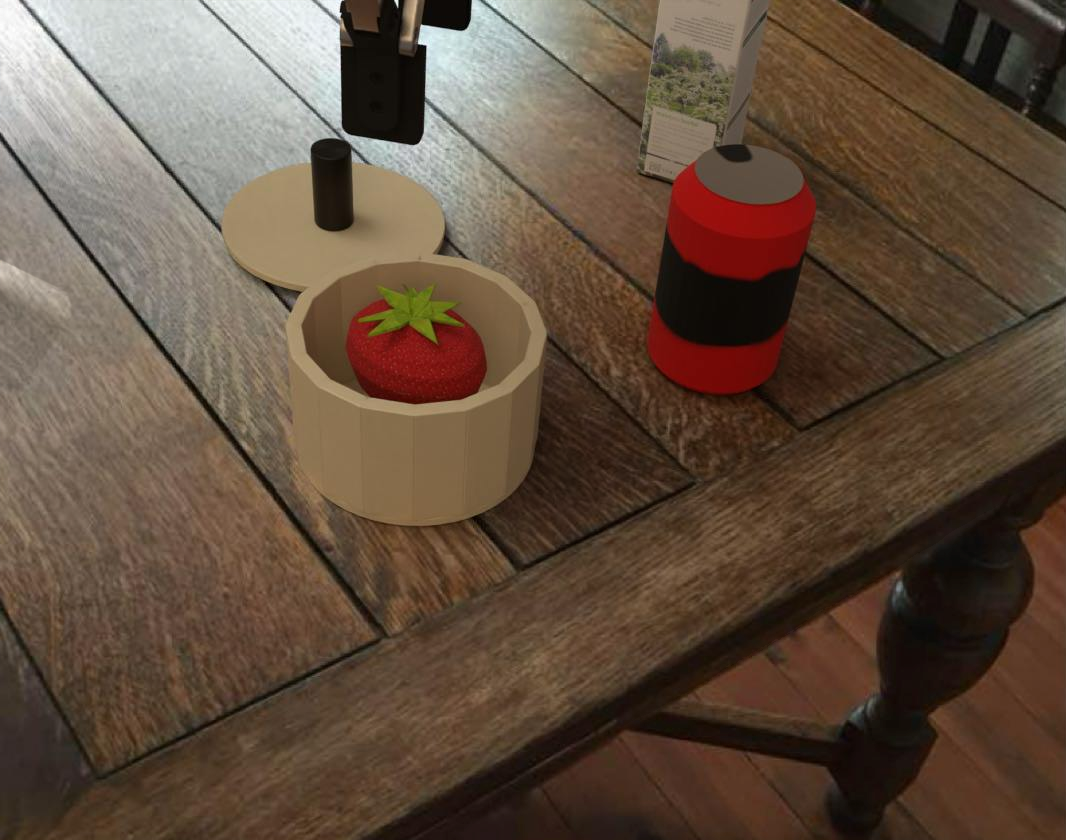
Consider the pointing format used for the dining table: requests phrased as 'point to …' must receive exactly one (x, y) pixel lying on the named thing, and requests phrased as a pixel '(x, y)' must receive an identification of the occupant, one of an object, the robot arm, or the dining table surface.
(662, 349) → the soda can
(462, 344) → the strawberry
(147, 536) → the dining table surface
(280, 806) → the dining table surface
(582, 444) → the dining table surface
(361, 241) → the lid
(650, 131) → the syrup box
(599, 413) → the dining table surface
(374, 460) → the pot
